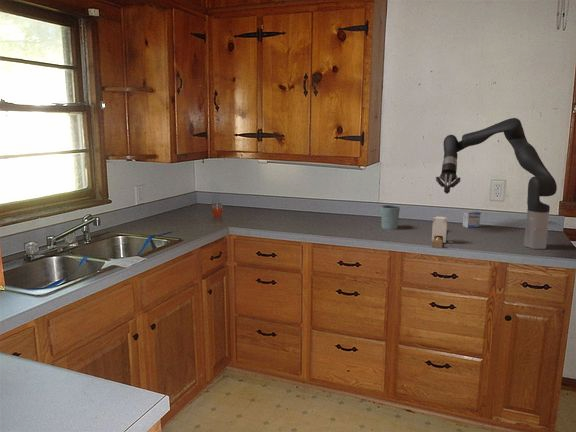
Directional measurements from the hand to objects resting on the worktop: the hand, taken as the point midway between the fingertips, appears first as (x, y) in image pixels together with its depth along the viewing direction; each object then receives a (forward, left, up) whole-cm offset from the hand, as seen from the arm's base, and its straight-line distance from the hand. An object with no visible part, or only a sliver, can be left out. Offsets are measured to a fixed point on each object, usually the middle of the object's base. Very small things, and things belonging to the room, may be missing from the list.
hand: (446, 192), depth 260 cm
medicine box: (+14, -20, -22) cm, 33 cm away
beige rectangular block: (-19, +9, -21) cm, 30 cm away
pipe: (-13, +4, -21) cm, 25 cm away
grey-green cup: (+12, +26, -22) cm, 36 cm away
